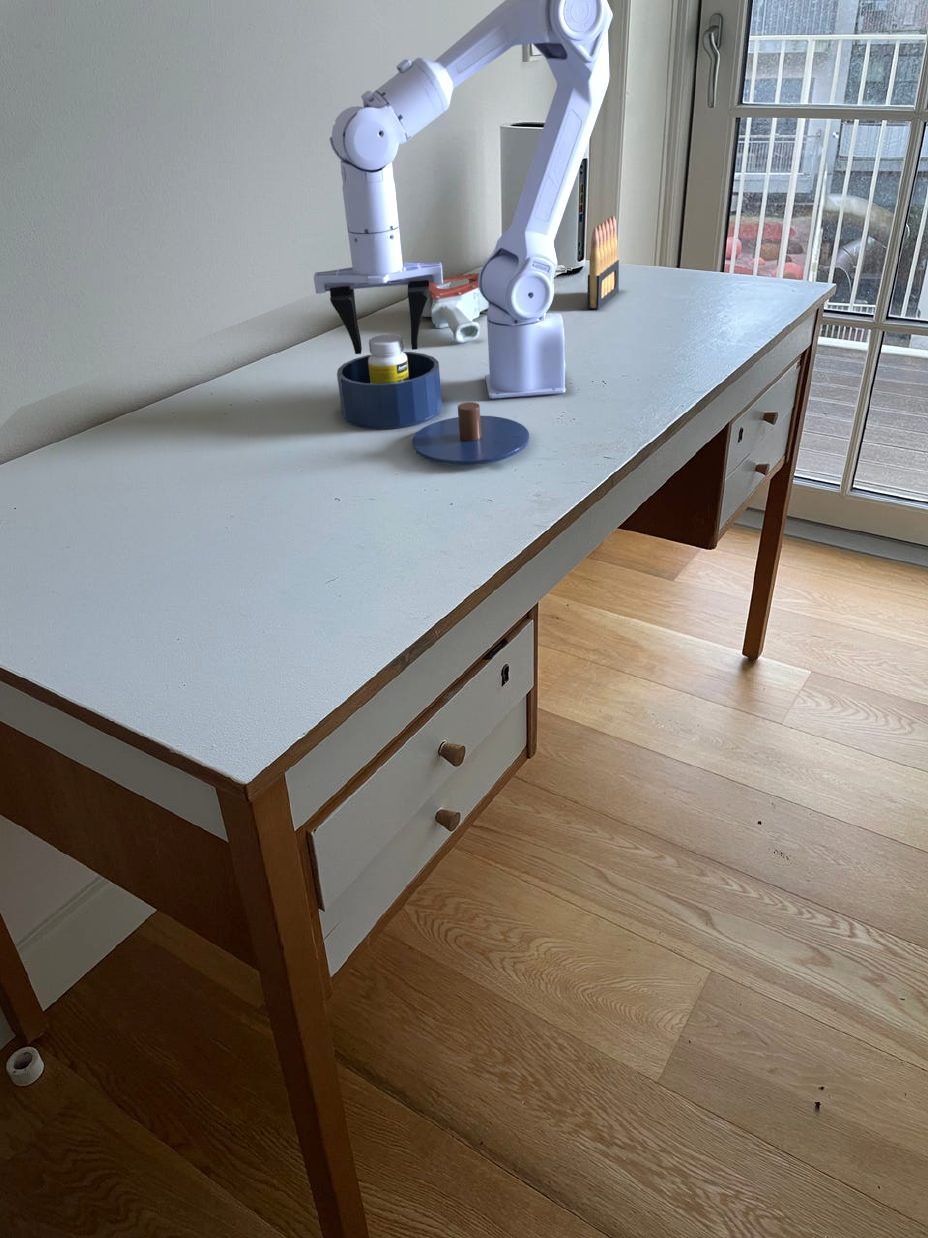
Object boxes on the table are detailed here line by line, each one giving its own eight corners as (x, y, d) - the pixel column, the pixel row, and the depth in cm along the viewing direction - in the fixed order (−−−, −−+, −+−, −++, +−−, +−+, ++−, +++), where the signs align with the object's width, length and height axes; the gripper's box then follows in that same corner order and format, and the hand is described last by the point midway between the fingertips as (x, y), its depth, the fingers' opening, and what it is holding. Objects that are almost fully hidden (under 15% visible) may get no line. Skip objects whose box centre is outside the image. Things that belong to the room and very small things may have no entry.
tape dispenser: (468, 357, 140) (535, 311, 153) (466, 321, 137) (534, 277, 150) (369, 338, 148) (441, 296, 161) (365, 303, 145) (439, 263, 158)
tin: (440, 389, 125) (437, 348, 122) (443, 425, 115) (440, 380, 112) (345, 397, 125) (340, 355, 122) (340, 432, 115) (333, 388, 112)
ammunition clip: (598, 310, 151) (599, 228, 145) (586, 309, 152) (587, 227, 145) (618, 291, 159) (620, 213, 153) (607, 291, 160) (609, 213, 153)
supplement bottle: (406, 414, 117) (399, 345, 113) (368, 414, 118) (360, 345, 114) (415, 400, 121) (409, 332, 117) (379, 400, 122) (371, 332, 118)
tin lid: (475, 415, 117) (473, 377, 114) (553, 443, 108) (553, 402, 106) (389, 448, 110) (385, 408, 107) (466, 481, 101) (463, 438, 99)
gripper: (305, 241, 105) (323, 364, 113) (439, 230, 105) (448, 354, 113) (310, 227, 111) (327, 346, 118) (437, 217, 111) (446, 336, 119)
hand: (386, 349), depth 116 cm, fingers open, 6 cm apart
